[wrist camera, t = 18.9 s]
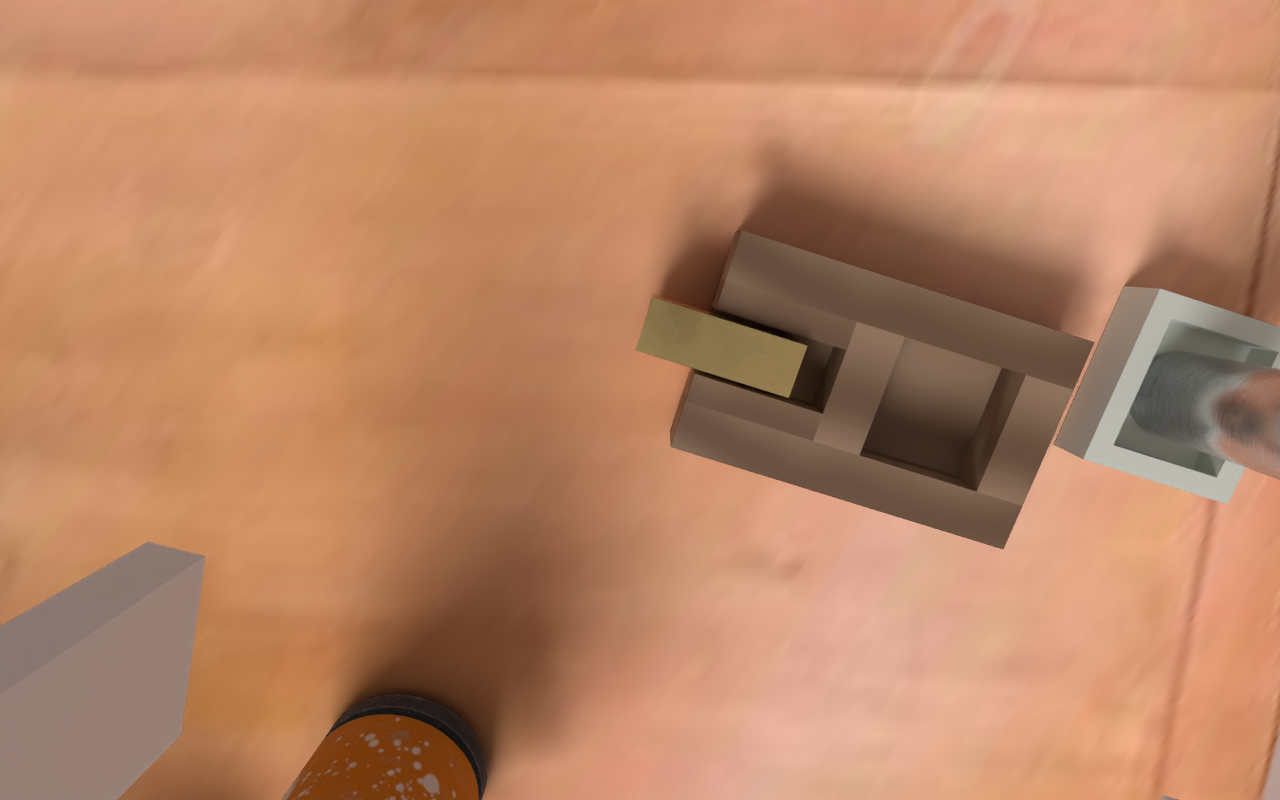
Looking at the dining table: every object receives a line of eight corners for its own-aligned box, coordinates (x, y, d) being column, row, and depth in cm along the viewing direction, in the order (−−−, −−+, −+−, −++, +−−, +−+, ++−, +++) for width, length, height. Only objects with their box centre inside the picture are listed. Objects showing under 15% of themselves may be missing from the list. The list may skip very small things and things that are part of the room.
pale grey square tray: (1124, 286, 34) (1160, 288, 31) (1264, 331, 34) (1311, 337, 31) (1054, 444, 35) (1083, 459, 33) (1188, 487, 35) (1227, 504, 33)
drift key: (653, 294, 33) (652, 297, 31) (796, 339, 34) (807, 345, 31) (637, 343, 34) (635, 350, 32) (779, 387, 34) (788, 397, 32)
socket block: (735, 232, 34) (742, 230, 31) (1057, 334, 34) (1094, 342, 31) (670, 431, 36) (670, 446, 33) (975, 525, 36) (1003, 549, 33)
